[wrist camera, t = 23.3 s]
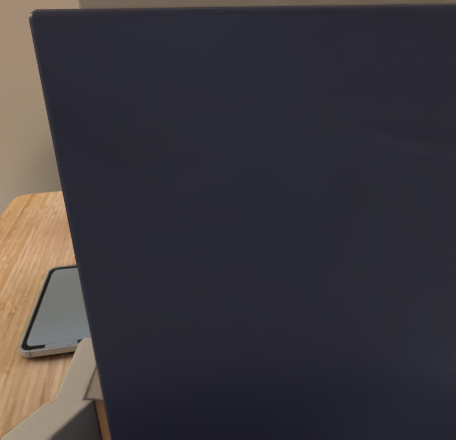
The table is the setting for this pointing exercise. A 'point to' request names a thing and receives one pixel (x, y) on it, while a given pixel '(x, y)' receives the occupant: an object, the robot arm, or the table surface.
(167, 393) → the box
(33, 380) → the table surface
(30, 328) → the smartphone
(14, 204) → the table surface
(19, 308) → the table surface
